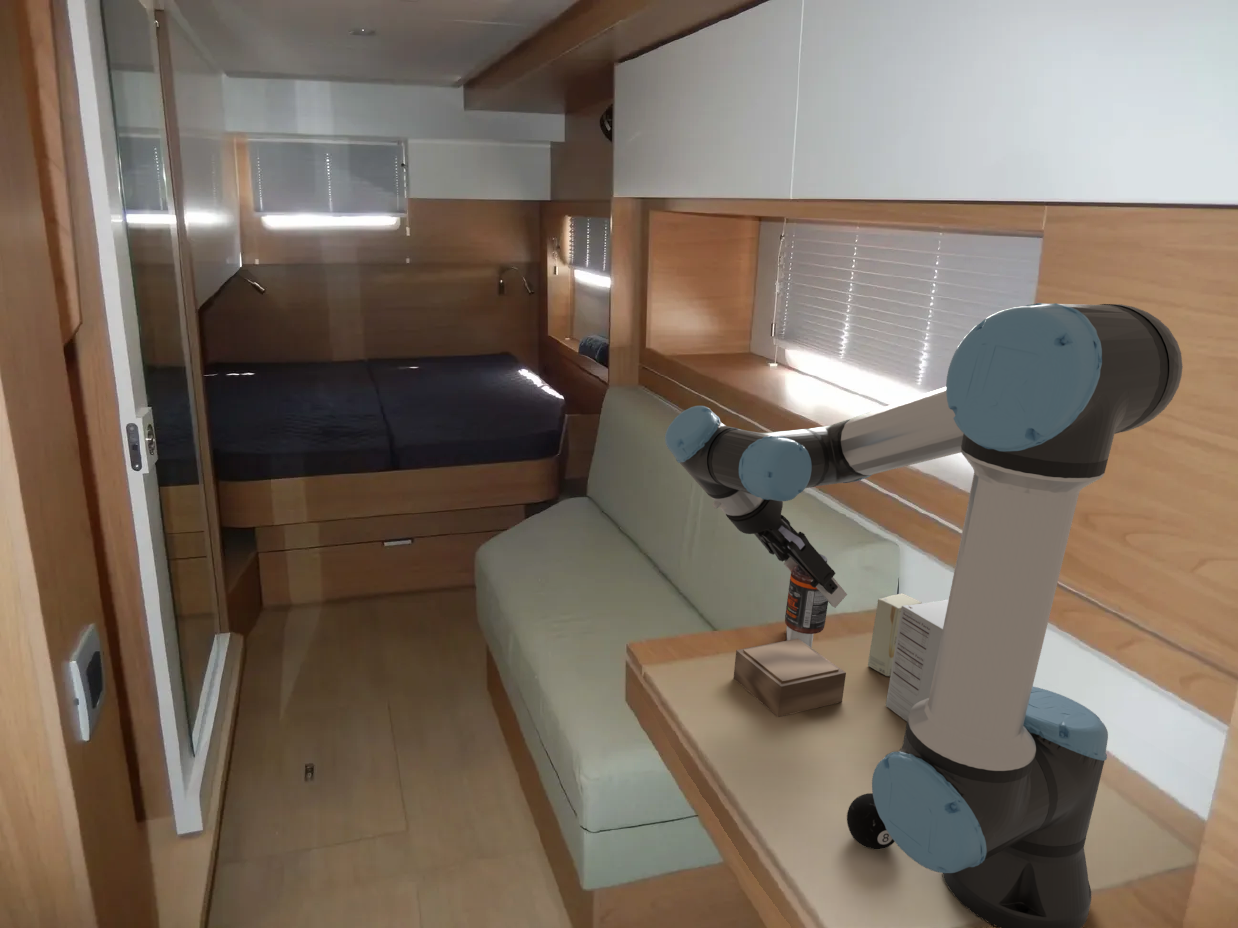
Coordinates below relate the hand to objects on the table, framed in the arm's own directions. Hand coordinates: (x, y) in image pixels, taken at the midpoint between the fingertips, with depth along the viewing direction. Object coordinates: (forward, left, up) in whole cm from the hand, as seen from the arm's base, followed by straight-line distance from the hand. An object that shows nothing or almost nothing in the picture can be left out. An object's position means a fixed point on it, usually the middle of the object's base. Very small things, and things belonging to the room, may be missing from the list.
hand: (825, 590), depth 134 cm
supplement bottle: (0, +3, -6) cm, 6 cm away
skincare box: (+3, -18, -18) cm, 25 cm away
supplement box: (-11, -13, -18) cm, 25 cm away
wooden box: (+3, +3, -17) cm, 18 cm away
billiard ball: (-30, +15, -18) cm, 38 cm away
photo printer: (+16, -9, -18) cm, 25 cm away
